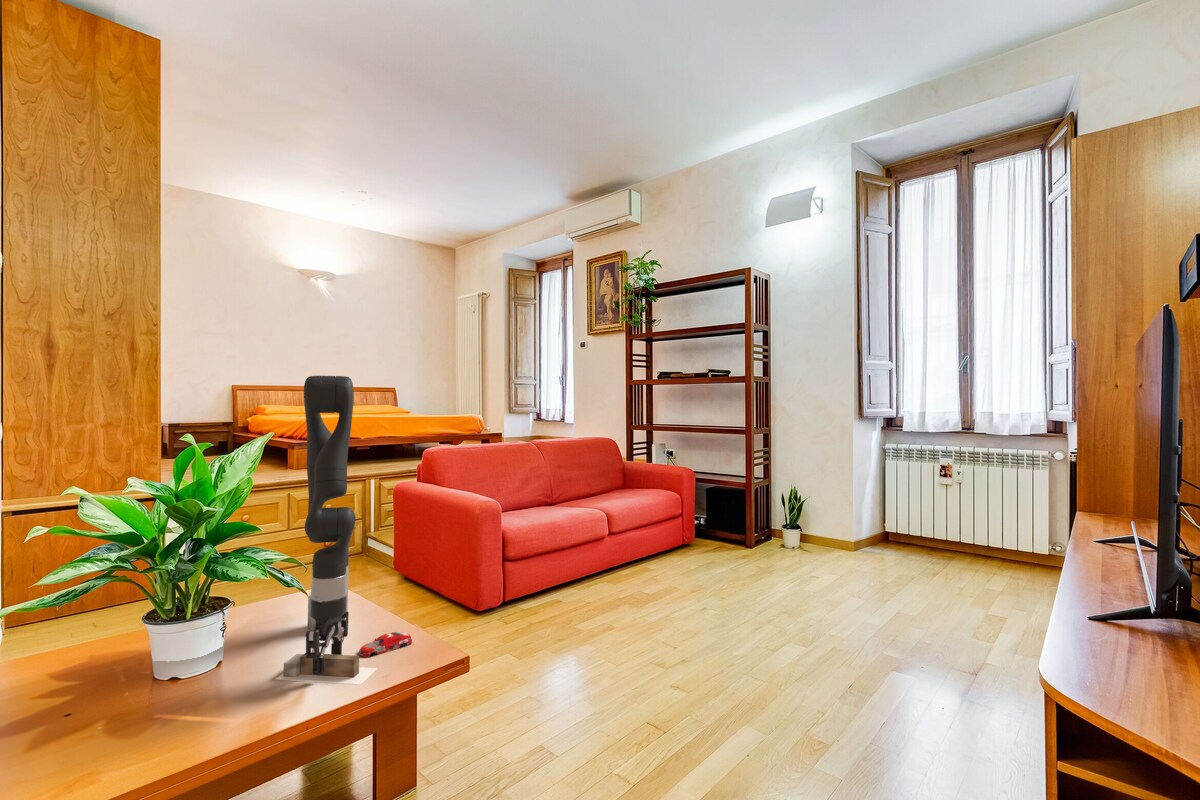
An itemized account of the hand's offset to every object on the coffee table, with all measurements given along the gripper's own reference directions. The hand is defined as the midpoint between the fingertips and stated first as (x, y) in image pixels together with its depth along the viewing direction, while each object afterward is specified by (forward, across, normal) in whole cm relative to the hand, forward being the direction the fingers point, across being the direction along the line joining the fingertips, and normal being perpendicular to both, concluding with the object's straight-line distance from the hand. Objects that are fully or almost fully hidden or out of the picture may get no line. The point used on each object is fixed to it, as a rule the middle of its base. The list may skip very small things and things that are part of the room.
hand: (327, 666), depth 133 cm
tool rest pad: (+2, 0, 0) cm, 2 cm away
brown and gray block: (+2, 0, 0) cm, 2 cm away
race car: (+3, -15, +7) cm, 17 cm away
